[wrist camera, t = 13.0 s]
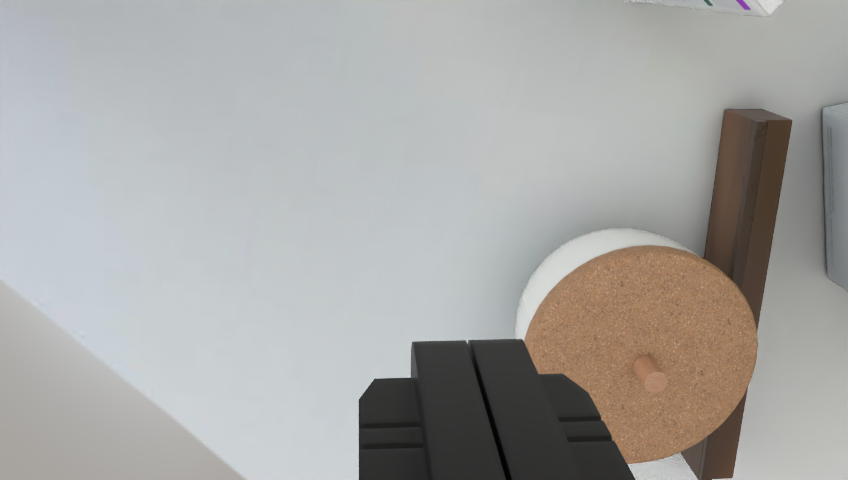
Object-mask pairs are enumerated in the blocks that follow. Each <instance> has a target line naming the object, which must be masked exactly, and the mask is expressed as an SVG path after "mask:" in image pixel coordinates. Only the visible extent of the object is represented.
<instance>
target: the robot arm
mask: <svg viewBox="0 0 848 480" xmlns="http://www.w3.org/2000/svg"><path fill="white" fill-rule="evenodd" d="M359 480H635V478H634V476H633V474H632V473H631V471H630V469H629V467H628V465H627V463H626V461H625V459H624V458H623V456H622V454H621V452H620V450H619V448H618V446H617V445H616V443H615V441H612V435H611V433H610V432H609V430H608V428H607V426H606V424H605V422H604V421H601V415H600V413H599V411H598V409H597V407H596V406H595V404H594V402H593V400H592V398H591V396H590V394H589V393H588V392H587V391H585V390H584V389H583V388H581V387H580V386H579V385H577V384H576V383H575V382H573V381H572V380H571V379H569V378H568V377H567V376H565V375H564V374H563V373H562V374H538V372H537V370H536V367H535V365H534V363H533V361H532V358H531V356H530V354H529V352H528V349H527V347H526V345H525V343H524V341H523V340H522V339H499V340H469V341H468V344H467V343H466V341H465V340H464V341H422V342H412V349H411V378H387V379H374V380H373V382H372V383H371V384H370V386H369V387H368V388H367V390H366V391H365V392H364V394H363V395H362V396H361V398H360V399H359Z"/></svg>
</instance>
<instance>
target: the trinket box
mask: <svg viewBox="0 0 848 480" xmlns="http://www.w3.org/2000/svg"><path fill="white" fill-rule="evenodd" d="M515 339H522V340H523V341H524V343H525V345H526V347H527V349H528V352H529V354H530V356H531V358H532V361H533V363H534V365H535V367H536V370H537V372H538V374H562V373H563V374H564V375H565V376H567V377H568V378H569V379H571V380H572V381H573V382H575V383H576V384H577V385H579V386H580V387H581V388H583V389H584V390H585V391H587V392H588V393H589V394H590V396H591V398H592V400H593V402H594V404H595V406H596V407H597V409H598V411H599V413H600V415H601V421H604V422H605V424H606V426H607V428H608V430H609V432H610V433H611V435H612V441H615V443H616V445H617V446H618V448H619V450H620V452H621V454H622V456H623V458H624V459H625V461H626V463H627V464H632V463H642V462H649V461H654V460H659V459H663V458H666V457H669V456H671V455H674V454H677V453H679V452H681V451H683V450H685V449H687V448H689V447H691V446H693V445H695V444H697V443H698V442H700V441H701V440H703V439H704V438H705V437H707V436H708V435H710V434H711V433H712V432H713V431H714V430H715V429H717V428H718V427H719V426H720V425H721V424H722V423H723V422H724V421H725V420H726V419H727V418H728V416H729V415H730V414H731V413H732V412H733V410H734V409H735V408H736V406H737V405H738V403H739V402H740V400H741V399H742V397H743V396H744V394H745V391H746V389H747V387H748V385H749V382H750V380H751V377H752V374H753V370H754V367H755V363H756V356H757V347H758V343H757V328H756V324H755V320H754V316H753V313H752V310H751V308H750V306H749V304H748V302H747V300H746V298H745V296H744V295H743V293H742V292H741V291H740V289H739V288H738V286H737V285H736V284H735V283H734V282H733V281H732V280H731V279H730V278H729V277H728V276H727V275H726V274H725V273H724V272H722V271H721V270H720V269H719V268H717V267H716V266H714V265H713V264H711V263H710V262H708V261H707V260H705V259H704V258H702V257H700V256H698V255H697V254H695V253H694V252H692V251H691V250H689V249H688V248H686V247H685V246H683V245H681V244H679V243H677V242H675V241H673V240H671V239H668V238H666V237H664V236H662V235H659V234H655V233H651V232H647V231H643V230H639V229H630V228H613V229H604V230H599V231H594V232H590V233H587V234H584V235H581V236H579V237H576V238H574V239H572V240H570V241H568V242H566V243H565V244H563V245H561V246H560V247H559V248H557V249H556V250H555V251H553V252H552V253H551V254H550V255H549V256H548V257H547V258H546V259H545V260H544V261H543V262H542V263H541V264H540V265H539V266H538V268H537V269H536V270H535V272H534V273H533V274H532V276H531V278H530V279H529V281H528V283H527V285H526V287H525V289H524V291H523V293H522V296H521V299H520V302H519V305H518V311H517V317H516V325H515Z"/></svg>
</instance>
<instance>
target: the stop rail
mask: <svg viewBox="0 0 848 480" xmlns="http://www.w3.org/2000/svg"><path fill="white" fill-rule="evenodd" d="M791 126H792V120H790V119H788V118H785V117H782V116H779V115H776V114H774V113H771V112H768V111H765V110H763V109H725V111H724V118H723V125H722V133H721V140H720V147H719V154H718V162H717V169H716V176H715V183H714V190H713V198H712V205H711V212H710V219H709V227H708V234H707V241H706V248H705V255H704V259H705V260H707V261H708V262H710V263H711V264H713V265H714V266H716V267H717V268H719V269H720V270H721V271H722V272H724V273H725V274H726V275H727V276H728V277H729V278H730V279H731V280H732V281H733V282H734V283H735V284H736V285H737V286H738V288H739V289H740V291H741V292H742V293H743V295H744V296H745V298H746V300H747V302H748V304H749V306H750V308H751V310H752V313H753V316H754V320H755V324H756V328H758V322H759V316H760V310H761V304H762V299H763V293H764V287H765V281H766V275H767V269H768V263H769V257H770V251H771V245H772V239H773V233H774V227H775V221H776V215H777V209H778V203H779V197H780V191H781V185H782V179H783V173H784V167H785V161H786V155H787V149H788V143H789V137H790V131H791ZM747 388H748V387H747ZM746 394H747V389H746V391H745V394H744V396H743V397H742V399H741V400H740V402H739V403H738V405H737V406H736V408H735V409H734V410H733V412H732V413H731V414H730V415H729V416H728V418H727V419H726V420H725V421H724V422H723V423H722V424H721V425H720V426H719V427H718V428H717V429H715V430H714V431H713V432H712V433H711V434H710V435H708V436H707V437H705V438H704V439H703V440H701V441H700V442H698V443H697V444H695V445H693V446H691V447H689V448H687V449H685V450H683V451H681V452H680V453H681V454H682V456H683V457H684V459H685V460H686V462H687V463H688V465H689V466H690V468H691V469H692V471H693V472H694V474H695V475H696V477H697V478H698V480H712V479H723V478H732V477H733V472H734V466H735V460H736V454H737V448H738V442H739V436H740V430H741V424H742V418H743V412H744V406H745V400H746Z"/></svg>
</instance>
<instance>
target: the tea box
mask: <svg viewBox="0 0 848 480" xmlns="http://www.w3.org/2000/svg"><path fill="white" fill-rule="evenodd" d="M822 115H823V159H824V193H825V227H826V254H827V269H828V278H829V279H830V280H832V281H833V282H835V283H836V284H838V285H839V286H841V287H842V288H844V289H845V290H847V291H848V103H843V104H838V105H833V106H829V107H824V109H823V113H822Z"/></svg>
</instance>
